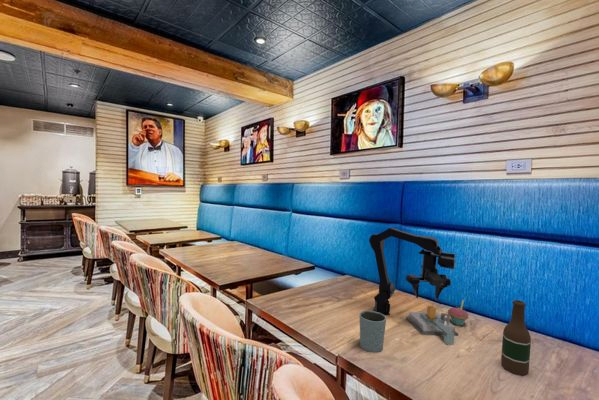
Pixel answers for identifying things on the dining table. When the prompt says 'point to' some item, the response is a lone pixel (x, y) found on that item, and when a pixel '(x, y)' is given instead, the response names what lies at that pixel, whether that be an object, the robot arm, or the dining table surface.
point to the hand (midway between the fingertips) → (426, 298)
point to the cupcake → (458, 315)
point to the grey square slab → (433, 325)
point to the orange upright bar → (431, 312)
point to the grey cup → (372, 331)
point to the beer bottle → (516, 342)
